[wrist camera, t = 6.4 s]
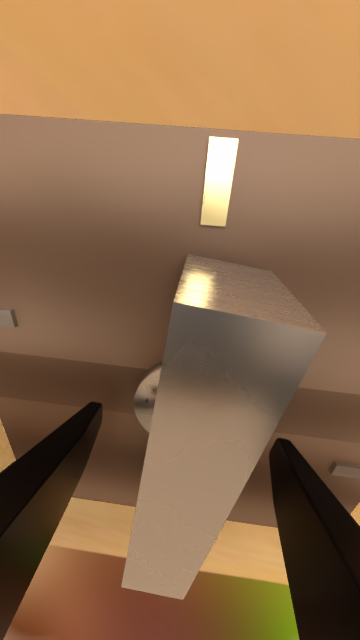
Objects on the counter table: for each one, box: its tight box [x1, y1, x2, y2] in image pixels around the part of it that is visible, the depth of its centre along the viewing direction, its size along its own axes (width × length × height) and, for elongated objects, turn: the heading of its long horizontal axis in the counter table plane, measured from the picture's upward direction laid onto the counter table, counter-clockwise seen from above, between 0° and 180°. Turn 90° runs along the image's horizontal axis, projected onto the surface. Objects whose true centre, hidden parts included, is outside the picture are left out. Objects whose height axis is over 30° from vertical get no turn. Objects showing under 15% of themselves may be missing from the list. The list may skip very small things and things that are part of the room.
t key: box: [121, 254, 327, 600], centre depth 9 cm, size 12×4×6 cm, turn 170°
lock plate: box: [0, 114, 360, 528], centre depth 11 cm, size 18×18×3 cm
